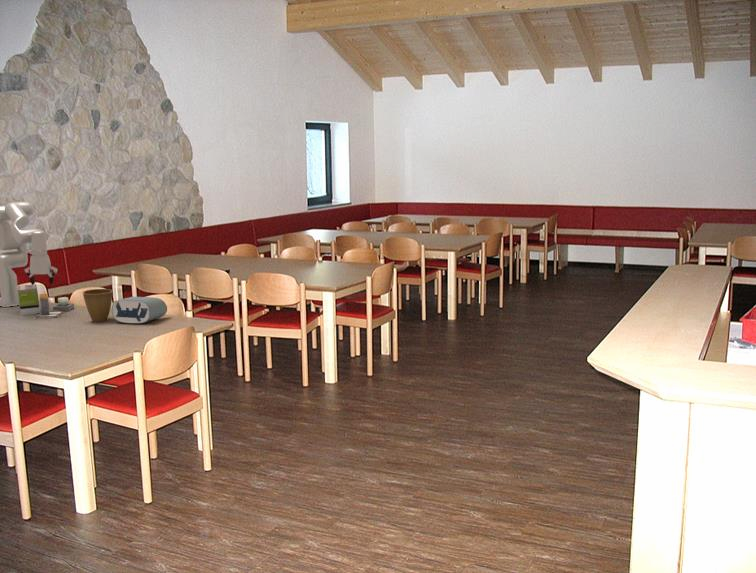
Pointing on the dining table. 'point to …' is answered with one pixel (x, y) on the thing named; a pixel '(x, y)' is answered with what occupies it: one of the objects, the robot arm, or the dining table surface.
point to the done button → (62, 301)
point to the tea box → (28, 299)
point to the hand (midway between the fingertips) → (42, 284)
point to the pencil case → (138, 309)
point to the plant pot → (98, 303)
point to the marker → (44, 304)
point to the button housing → (64, 307)
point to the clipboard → (52, 313)
